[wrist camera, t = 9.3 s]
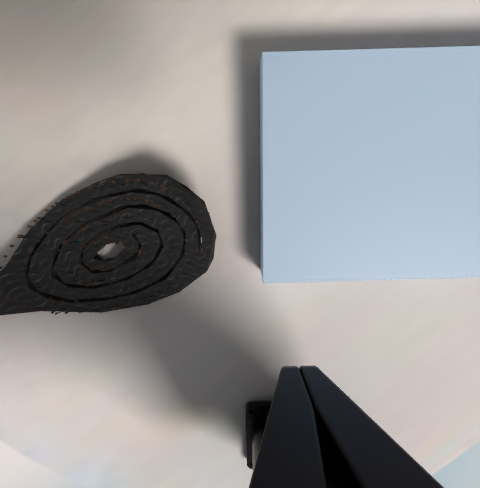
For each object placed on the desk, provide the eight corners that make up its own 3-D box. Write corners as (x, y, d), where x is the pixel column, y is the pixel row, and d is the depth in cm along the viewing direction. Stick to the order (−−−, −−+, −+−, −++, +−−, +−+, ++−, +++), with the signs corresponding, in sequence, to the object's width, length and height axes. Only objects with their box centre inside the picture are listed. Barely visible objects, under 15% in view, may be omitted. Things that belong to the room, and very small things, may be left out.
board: (502, 264, 19) (531, 276, 17) (260, 270, 19) (263, 283, 17) (555, 56, 16) (600, 42, 14) (259, 64, 16) (262, 52, 14)
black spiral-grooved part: (-205, 306, 17) (171, 142, 13) (-128, 279, 21) (188, 143, 17) (-107, 408, 19) (237, 293, 16) (-53, 368, 23) (240, 266, 19)
